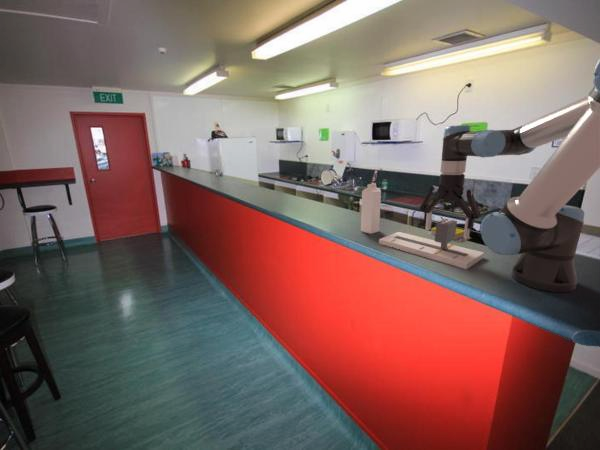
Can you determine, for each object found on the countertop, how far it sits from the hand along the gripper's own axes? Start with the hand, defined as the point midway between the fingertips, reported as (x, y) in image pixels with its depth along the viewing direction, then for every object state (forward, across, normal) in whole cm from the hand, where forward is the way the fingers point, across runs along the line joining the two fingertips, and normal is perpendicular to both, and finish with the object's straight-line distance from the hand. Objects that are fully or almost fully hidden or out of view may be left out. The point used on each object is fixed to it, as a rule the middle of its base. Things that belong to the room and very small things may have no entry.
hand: (446, 233), depth 108 cm
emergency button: (+9, +9, -23) cm, 26 cm away
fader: (+6, 0, 0) cm, 6 cm away
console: (+8, +6, 0) cm, 10 cm away
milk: (+8, +36, -4) cm, 38 cm away
